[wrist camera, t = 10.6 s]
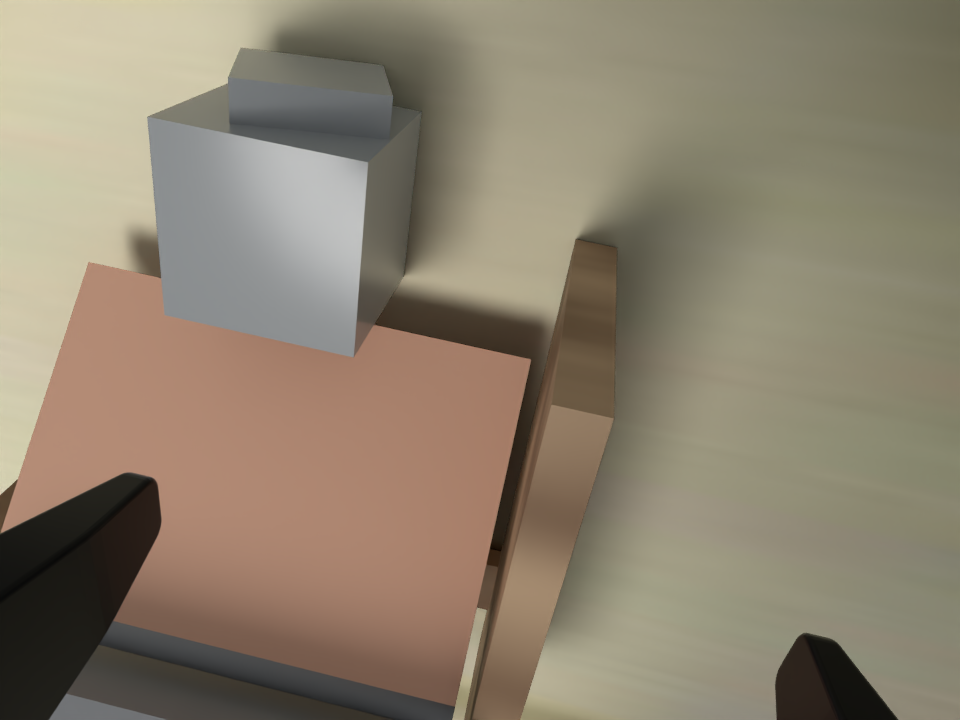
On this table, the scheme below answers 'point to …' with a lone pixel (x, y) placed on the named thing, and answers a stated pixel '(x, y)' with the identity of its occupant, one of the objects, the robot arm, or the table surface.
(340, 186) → the slate block
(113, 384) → the trapdoor
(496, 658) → the frame
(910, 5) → the table surface
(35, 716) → the robot arm
